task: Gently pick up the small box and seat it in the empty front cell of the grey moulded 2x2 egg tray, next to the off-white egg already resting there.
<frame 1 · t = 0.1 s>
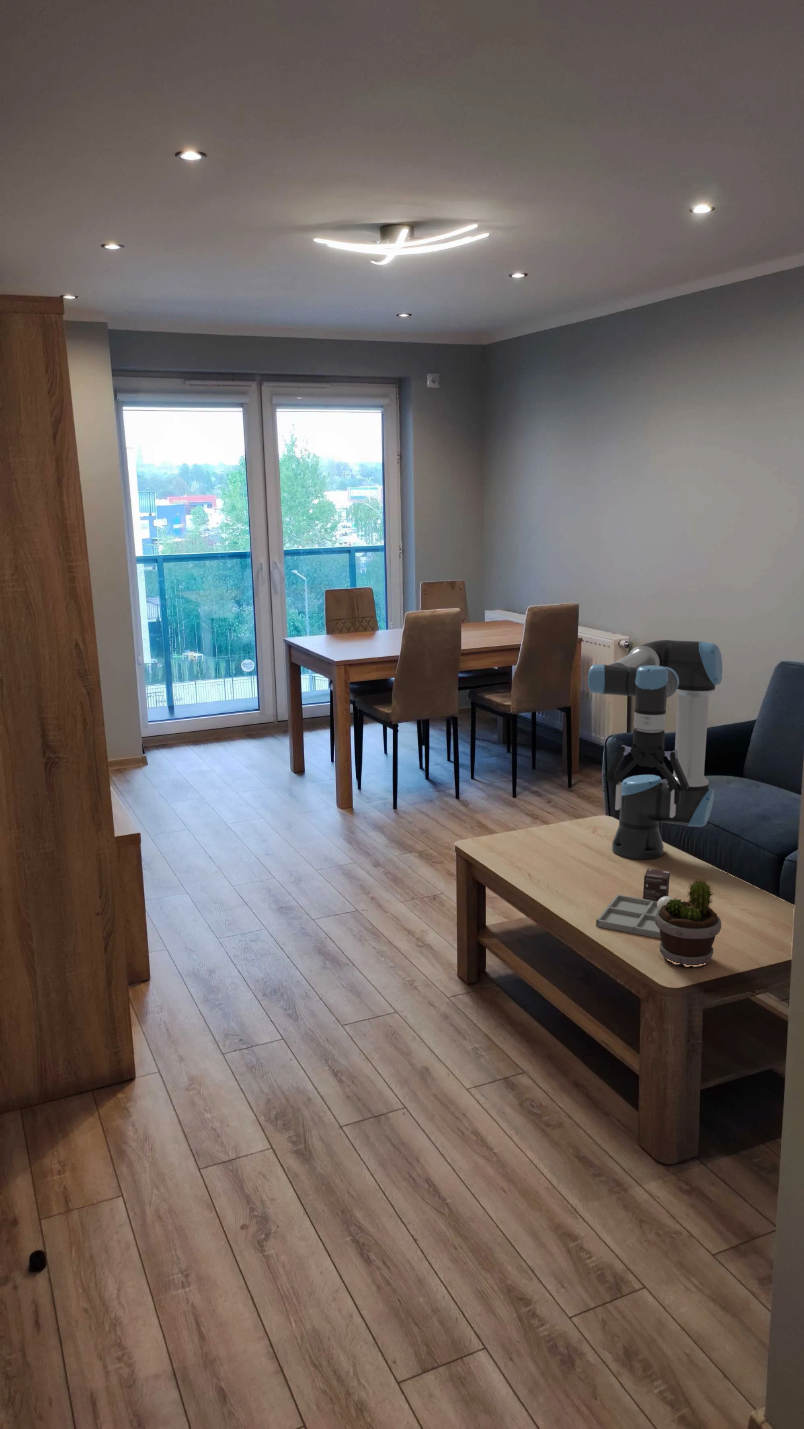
hand: (644, 812, 251), 28 cm above the table, fingers open, 13 cm apart
flowerpot: (685, 959, 233), on the table
egg tray: (643, 919, 256), on the table
box: (655, 900, 269), on the table
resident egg: (666, 916, 257), resting on egg tray
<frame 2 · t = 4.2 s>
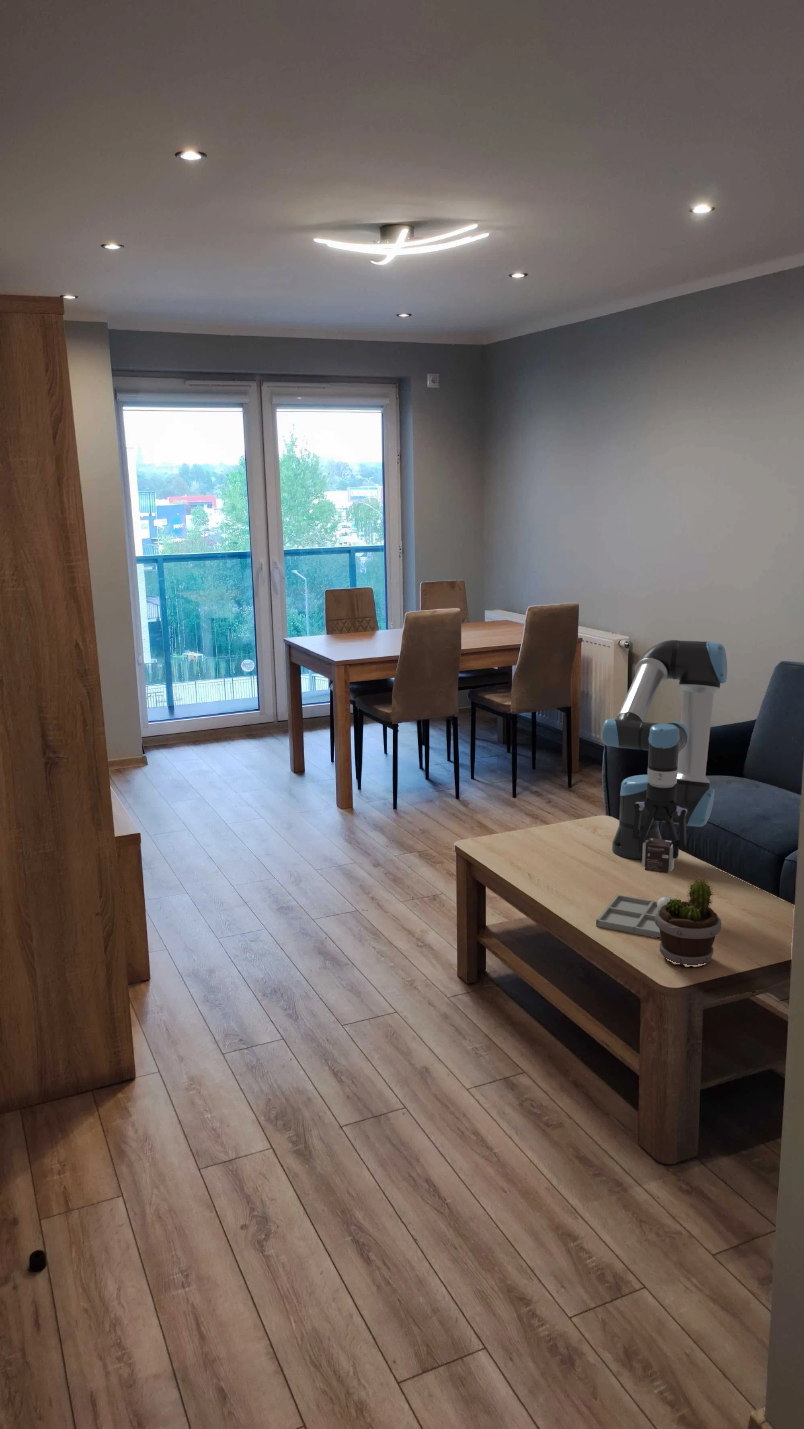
hand: (657, 866, 268), 9 cm above the table, fingers closed on box, 6 cm apart
box: (657, 869, 268), point 8 cm above the table, touching gripper
everything else where it was.
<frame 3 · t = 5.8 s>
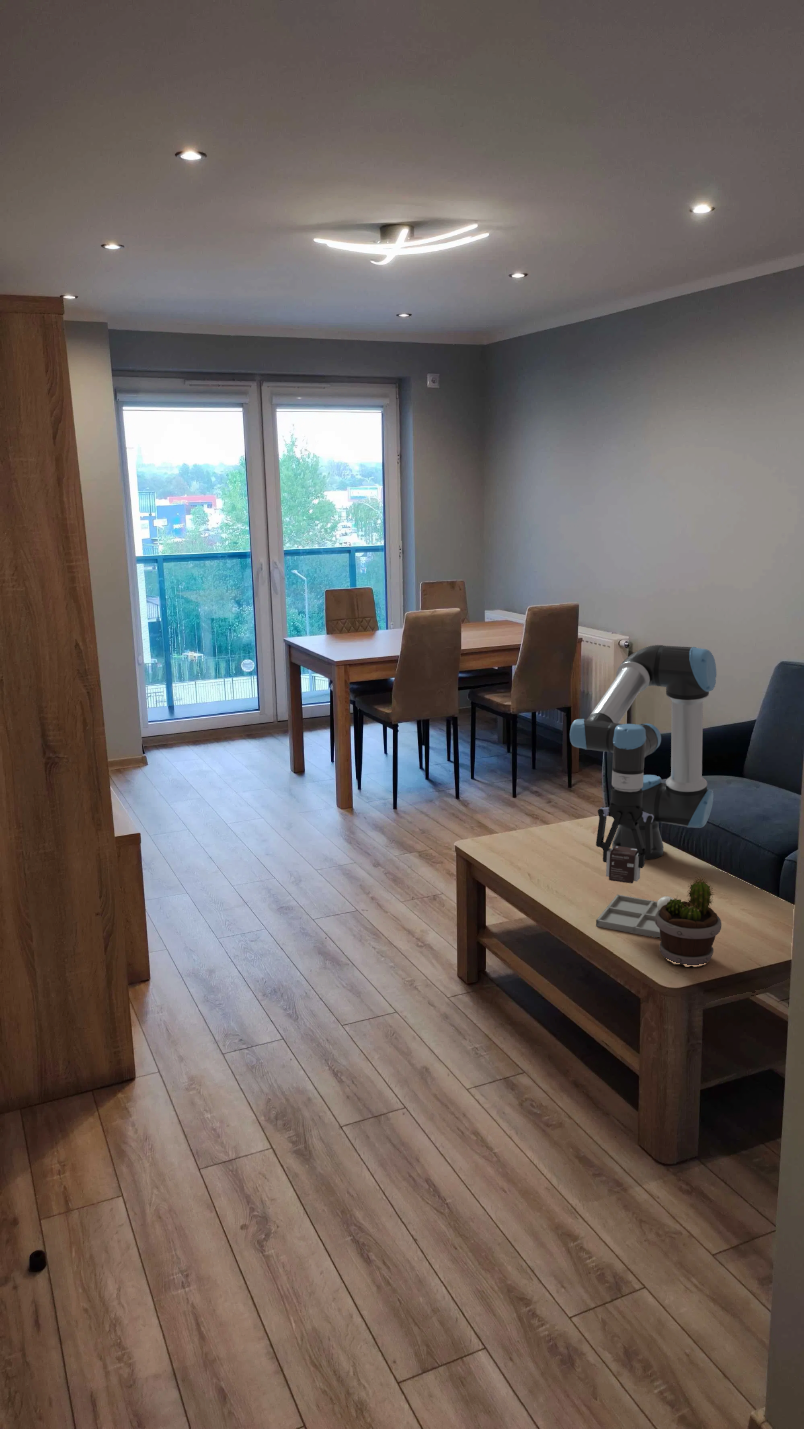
hand: (622, 876, 251), 12 cm above the table, fingers closed on box, 6 cm apart
box: (622, 879, 251), point 12 cm above the table, touching gripper
everything else where it was.
when the fingers open (2 cm above the table, at t = 7.5 s): box drops 2 cm, resting on egg tray.
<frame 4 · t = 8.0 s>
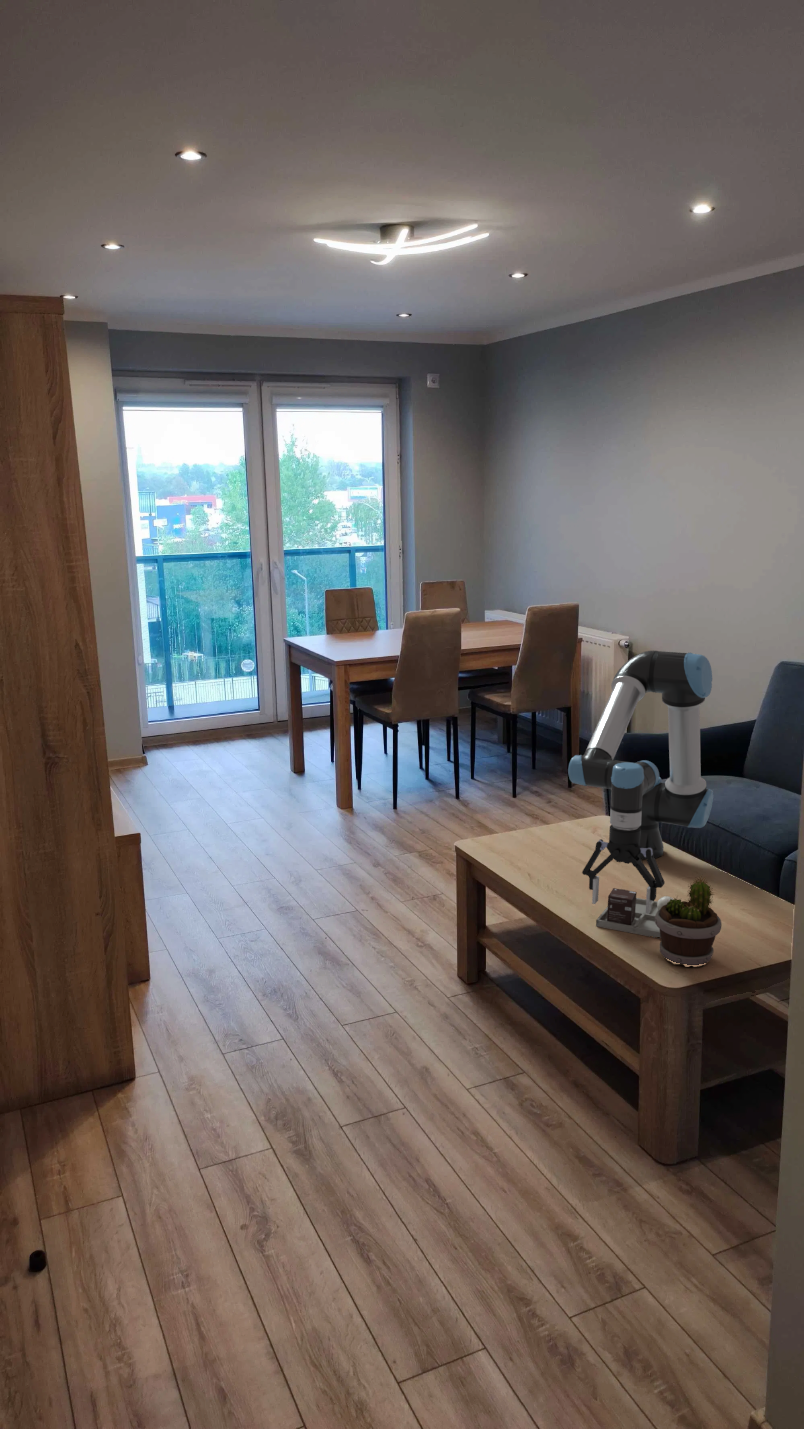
hand: (621, 907, 253), 4 cm above the table, fingers open, 13 cm apart
box: (620, 921, 253), resting on egg tray
everything else where it was.
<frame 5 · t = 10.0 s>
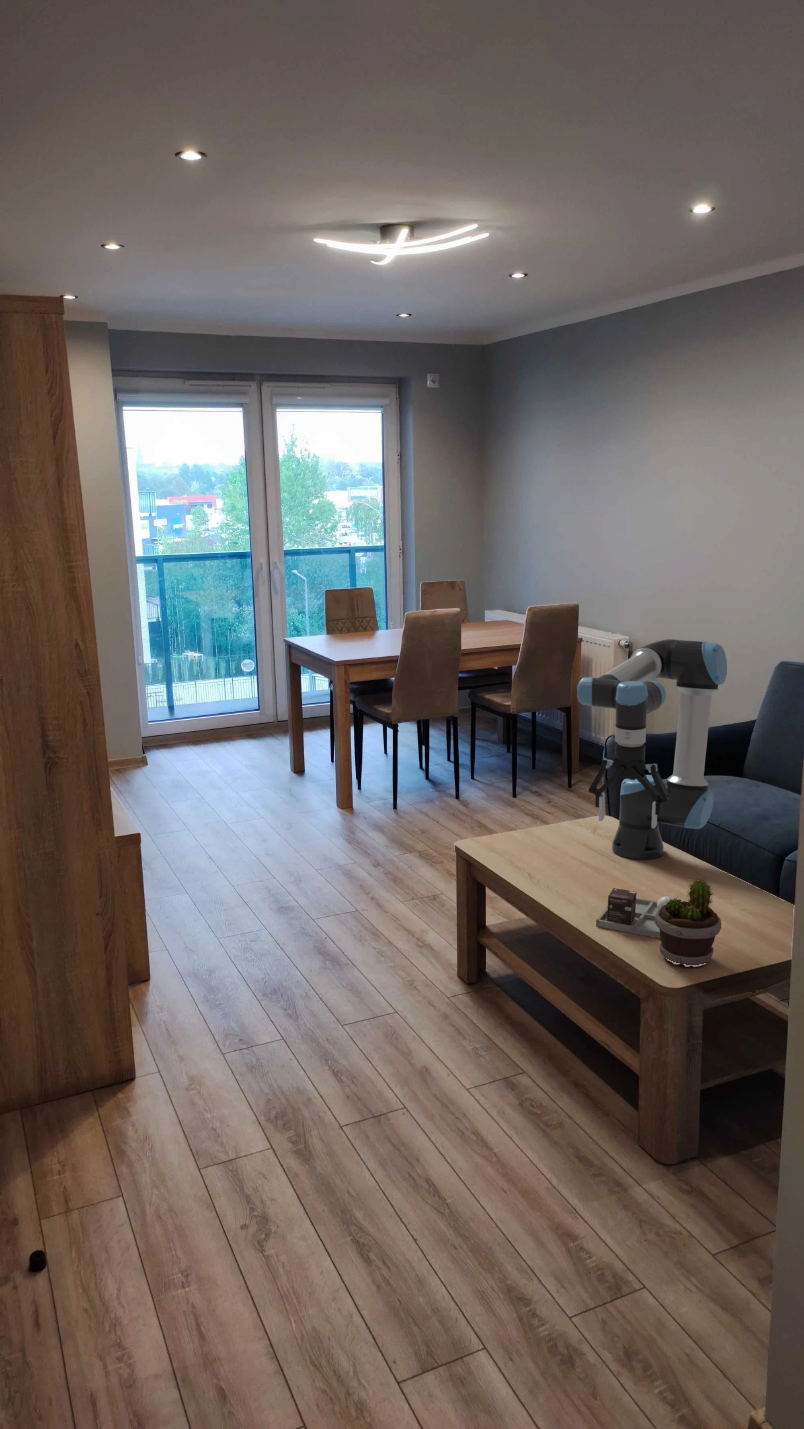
hand: (627, 823, 259), 23 cm above the table, fingers open, 13 cm apart
nothing on the table moved.
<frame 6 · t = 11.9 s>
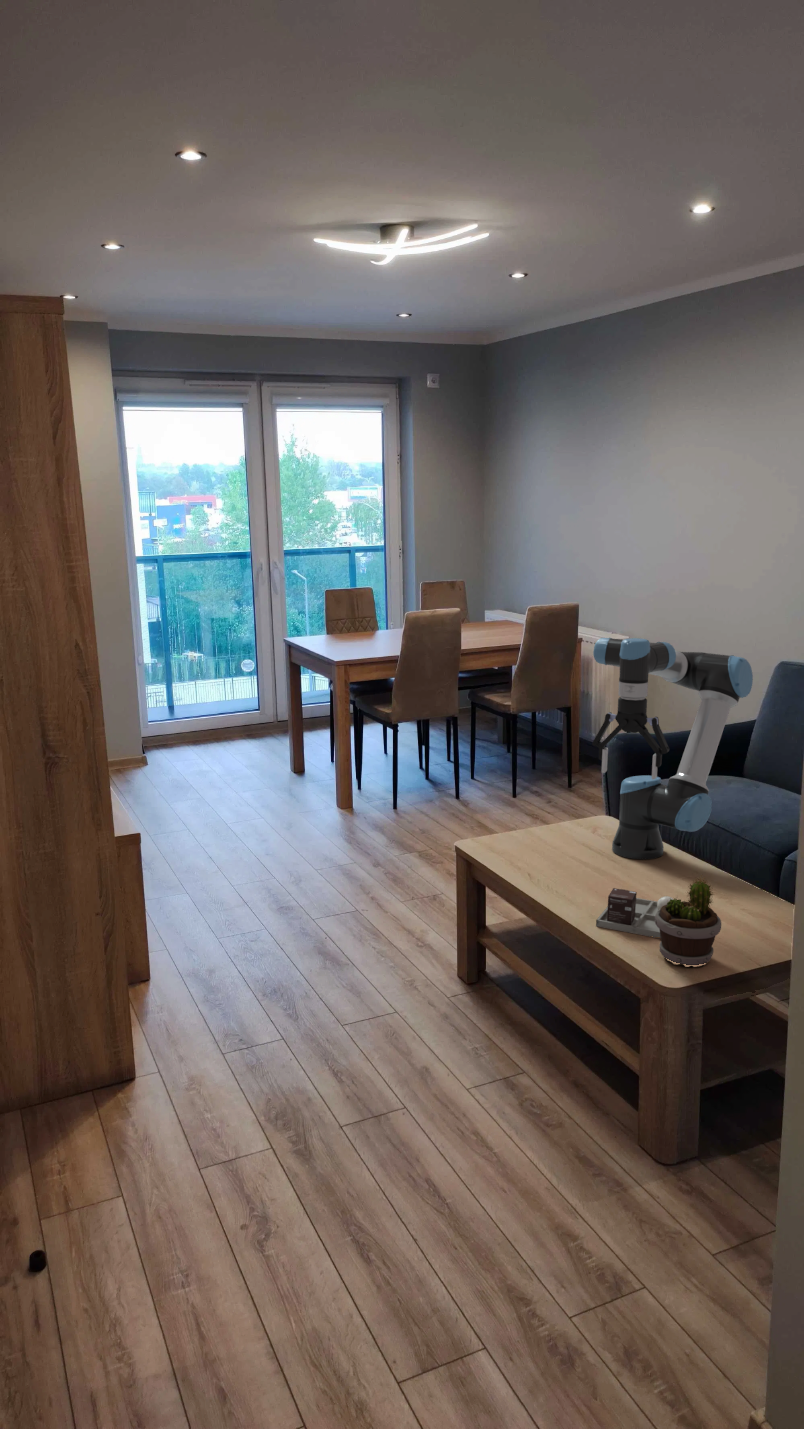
hand: (629, 775, 271), 32 cm above the table, fingers open, 13 cm apart
nothing on the table moved.
at the end: box inside the target area (0.2 cm from its centre), resting on egg tray; box tilted 0°; the gripper is holding nothing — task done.
